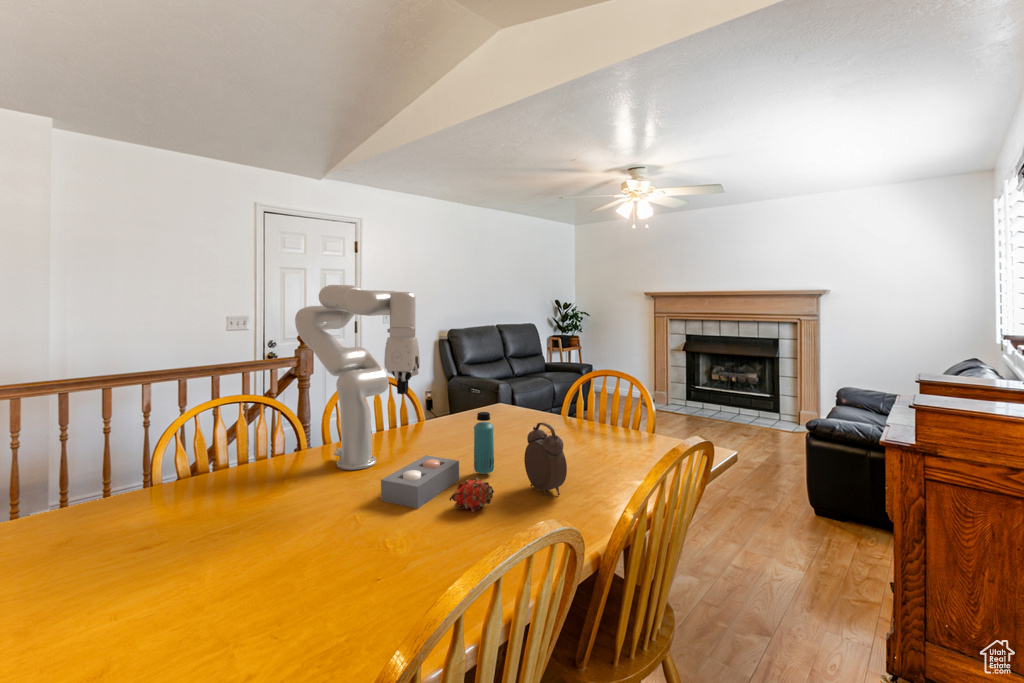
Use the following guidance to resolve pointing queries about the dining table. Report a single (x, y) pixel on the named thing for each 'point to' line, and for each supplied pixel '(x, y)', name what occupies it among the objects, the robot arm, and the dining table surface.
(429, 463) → the brown egg
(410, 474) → the white rounded piece
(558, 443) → the alarm clock
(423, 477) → the grey rectangular block
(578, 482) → the dining table surface
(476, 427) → the beverage bottle
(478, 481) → the dragon fruit
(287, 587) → the dining table surface
